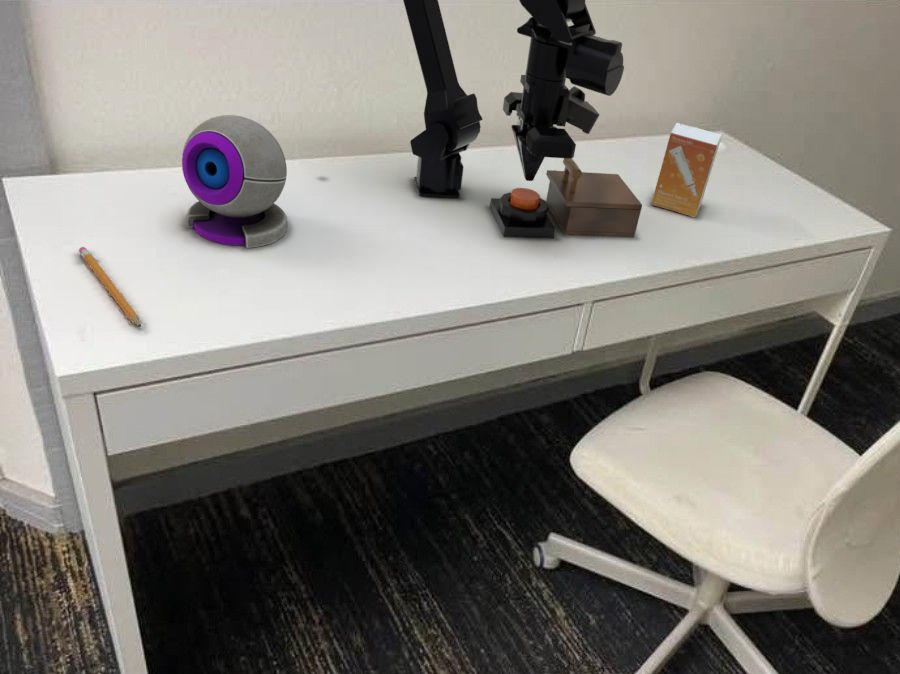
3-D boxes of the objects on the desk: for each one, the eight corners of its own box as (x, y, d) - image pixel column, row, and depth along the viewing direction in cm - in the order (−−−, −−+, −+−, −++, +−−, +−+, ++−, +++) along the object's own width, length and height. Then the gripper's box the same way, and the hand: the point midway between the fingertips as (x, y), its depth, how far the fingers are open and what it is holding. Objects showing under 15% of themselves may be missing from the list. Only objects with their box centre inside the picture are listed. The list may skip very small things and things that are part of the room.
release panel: (553, 238, 130) (557, 217, 128) (503, 237, 128) (506, 215, 126) (537, 209, 138) (540, 189, 135) (489, 207, 135) (492, 187, 133)
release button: (541, 211, 130) (543, 200, 129) (513, 210, 128) (515, 199, 127) (534, 198, 133) (535, 188, 132) (506, 197, 132) (508, 187, 131)
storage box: (565, 235, 132) (571, 206, 129) (545, 202, 140) (550, 175, 137) (634, 237, 135) (641, 210, 132) (610, 205, 144) (617, 179, 141)
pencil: (76, 252, 104) (134, 329, 94) (80, 245, 104) (138, 321, 93) (84, 254, 105) (142, 331, 94) (88, 247, 105) (146, 323, 94)
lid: (566, 206, 128) (571, 177, 126) (546, 174, 137) (550, 147, 134) (641, 209, 132) (648, 181, 130) (617, 178, 141) (623, 151, 138)
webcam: (167, 228, 113) (155, 117, 104) (227, 196, 123) (221, 92, 114) (251, 257, 111) (246, 146, 102) (305, 222, 121) (305, 118, 112)
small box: (650, 205, 147) (669, 131, 139) (657, 193, 152) (676, 121, 144) (696, 218, 145) (717, 144, 138) (701, 205, 150) (722, 133, 143)
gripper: (620, 102, 115) (597, 209, 124) (580, 59, 128) (562, 158, 138) (542, 95, 111) (524, 206, 120) (509, 52, 125) (495, 154, 134)
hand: (528, 179), depth 128 cm, fingers closed
